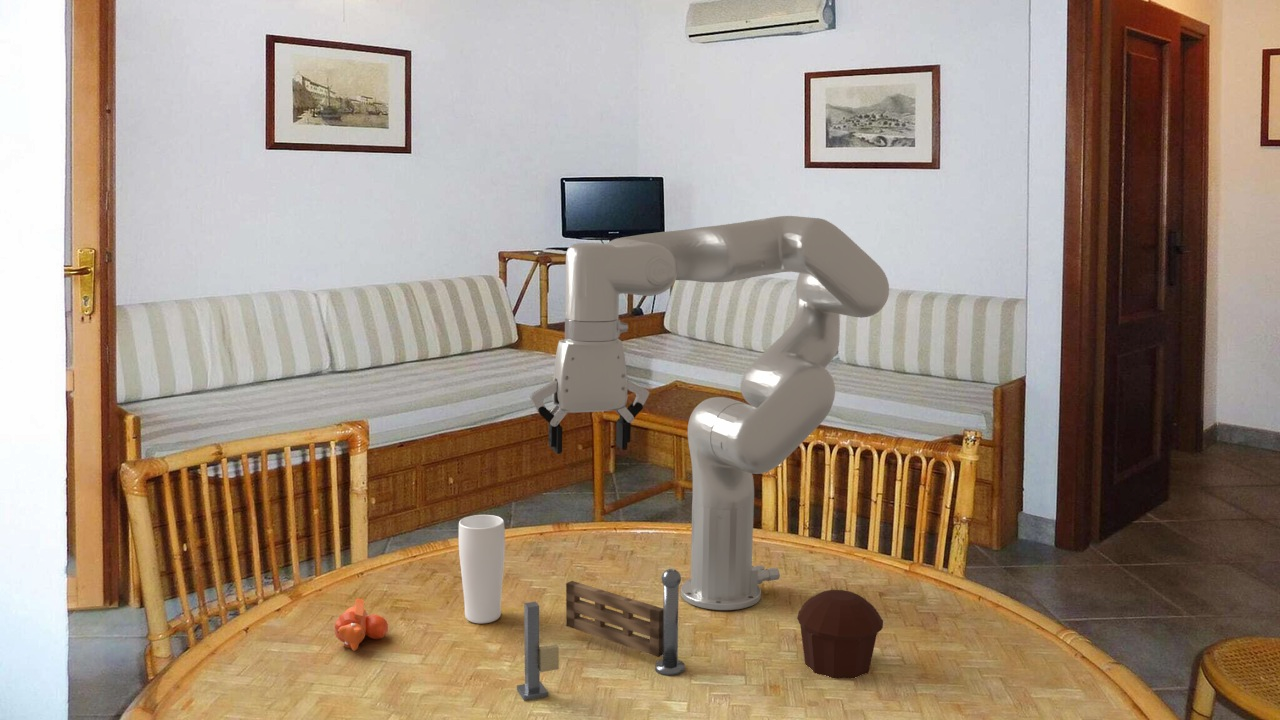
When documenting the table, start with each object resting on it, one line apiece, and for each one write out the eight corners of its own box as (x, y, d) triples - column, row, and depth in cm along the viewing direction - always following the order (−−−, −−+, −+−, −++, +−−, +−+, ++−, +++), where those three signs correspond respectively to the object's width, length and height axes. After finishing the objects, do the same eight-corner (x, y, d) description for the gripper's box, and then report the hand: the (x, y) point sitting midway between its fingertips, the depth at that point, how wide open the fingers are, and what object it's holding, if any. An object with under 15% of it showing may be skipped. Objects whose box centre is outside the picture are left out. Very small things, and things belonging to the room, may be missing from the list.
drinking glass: (497, 628, 167) (496, 530, 164) (453, 624, 168) (451, 526, 166) (511, 611, 174) (510, 516, 171) (469, 607, 175) (467, 512, 172)
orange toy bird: (344, 586, 168) (337, 618, 156) (394, 599, 169) (391, 632, 158) (334, 618, 168) (326, 652, 157) (384, 630, 170) (380, 665, 158)
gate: (663, 654, 156) (664, 608, 154) (658, 657, 155) (659, 611, 154) (571, 623, 166) (571, 580, 164) (566, 626, 165) (566, 583, 163)
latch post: (550, 683, 150) (550, 596, 148) (558, 694, 147) (558, 606, 145) (516, 689, 148) (515, 601, 146) (524, 700, 145) (523, 611, 143)
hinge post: (677, 660, 157) (678, 562, 155) (689, 672, 153) (691, 572, 151) (650, 665, 156) (651, 566, 153) (662, 677, 152) (663, 576, 149)
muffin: (778, 660, 158) (780, 590, 156) (834, 640, 164) (837, 573, 163) (842, 692, 148) (845, 618, 147) (899, 669, 155) (902, 599, 153)
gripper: (641, 326, 168) (638, 440, 171) (525, 329, 162) (524, 446, 165) (658, 334, 161) (655, 452, 164) (537, 337, 155) (536, 459, 158)
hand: (589, 449), depth 164 cm, fingers open, 9 cm apart
